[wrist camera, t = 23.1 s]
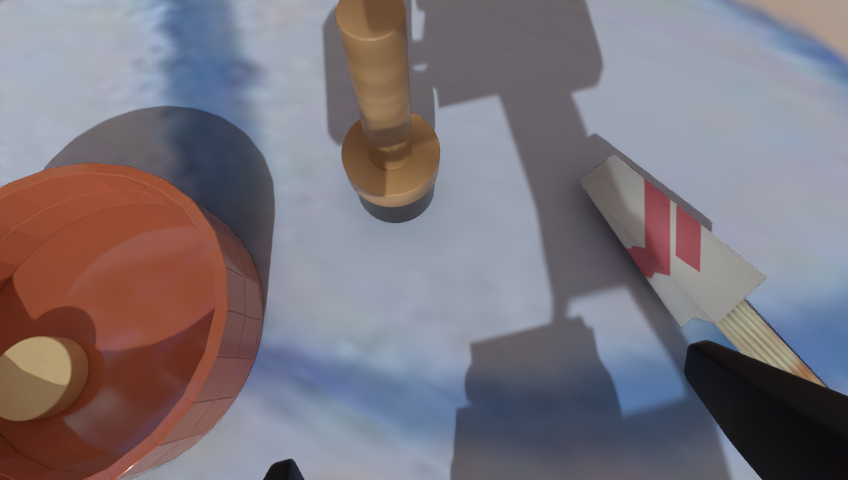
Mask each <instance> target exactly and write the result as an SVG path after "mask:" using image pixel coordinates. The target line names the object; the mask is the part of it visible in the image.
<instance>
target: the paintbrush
mask: <svg viewBox="0 0 848 480" xmlns="http://www.w3.org/2000/svg"><path fill="white" fill-rule="evenodd" d="M579 181H580V183H581V184H582V186H583V187H584V189H585V190H586V192H587V193H588V195H589V196H590V197H591V199H592V200H593V202H594V203H595V205H596V206H597V208H598V209H599V210H600V212H601V213H602V215H603V216H604V218H605V219H606V221H607V222H608V223H609V225H610V226H611V228H612V229H613V231H614V232H615V234H616V235H617V236H618V238H619V239H620V241H621V242H622V244H623V245H624V247H625V248H626V250H627V251H628V252H629V254H630V255H631V257H632V258H633V260H634V261H635V263H636V264H637V265H638V267H639V268H640V270H641V271H642V273H643V274H644V276H645V277H646V278H647V280H648V281H649V283H650V284H651V286H652V287H653V289H654V290H655V291H656V293H657V294H658V296H659V297H660V299H661V300H662V302H663V303H664V305H665V306H666V307H667V309H668V310H669V312H670V313H671V315H672V316H673V318H674V319H675V320H676V322H677V323H678V325H679V326H680V328H682V327H683V326H684V325H685V324H686V323H687V322H689V321H690V320H691V319H692V318H697V319H701V320H705V321H709V322H712V323H714V324H715V325H716V327H717V328H718V329H719V330H720V331H721V332H722V333H723V334H724V335H725V336H726V337H727V338H728V340H729V341H730V342H731V343H732V344H733V345H734V346H735V347H736V348H737V349H738V350H739V351H740V353H742V354H744V355H747V356H749V357H752V358H754V359H757V360H759V361H762V362H764V363H767V364H769V365H772V366H774V367H777V368H779V369H782V370H784V371H787V372H789V373H792V374H794V375H797V376H799V377H802V378H804V379H807V380H809V381H812V382H814V383H817V384H819V385H821V386H824V385H823V384H822V383H821V382H820V380H819V379H818V378H817V377H816V376H815V375H814V374H813V373H812V372H811V371H810V370H809V369H808V368H807V367H806V366H805V365H804V363H803V362H802V361H801V360H800V359H799V358H798V357H797V356H796V355H795V354H794V353H793V352H792V351H791V350H790V349H789V348H788V346H787V345H786V344H785V343H784V342H783V341H782V340H781V339H780V338H779V337H778V336H777V335H776V334H775V333H774V332H773V331H772V330H771V329H770V328H769V326H768V325H767V324H766V323H765V322H764V321H763V320H762V319H761V318H760V317H759V316H758V314H757V313H756V312H755V311H754V310H753V309H752V308H751V307H750V306H749V305H748V304H747V302H746V301H745V300H744V298H745V297H746V296H748V295H749V294H750V293H751V292H752V291H753V290H754V289H755V288H756V287H757V286H759V285H760V284H761V283H762V282H763V281H764V280H765V279H766V278H767V277H766V276H765V275H764V274H762V273H761V272H760V271H759V270H757V269H756V268H755V267H754V266H752V265H751V264H750V263H749V262H747V261H746V260H745V259H744V258H742V257H741V256H740V255H739V254H737V253H736V252H735V251H734V250H732V249H731V248H730V247H729V246H727V245H726V244H725V243H724V242H722V241H721V240H720V239H719V238H717V237H716V236H715V235H714V234H713V233H711V232H710V231H709V230H708V229H706V228H705V227H704V226H703V225H701V224H700V223H699V222H698V221H696V220H695V219H694V218H693V217H691V216H690V215H689V214H688V213H686V212H685V211H684V210H683V209H681V208H680V207H679V206H678V205H676V204H675V203H674V202H673V201H671V200H670V199H669V198H668V197H666V196H665V195H664V194H663V193H661V192H660V191H659V190H658V189H656V188H655V187H654V186H653V185H651V184H650V183H649V182H648V181H647V180H645V179H644V178H643V177H642V176H640V175H639V174H638V173H637V172H635V171H634V170H633V169H632V168H630V167H629V166H628V165H627V164H625V163H624V162H623V161H622V160H620V159H619V158H618V157H617V156H615V155H614V154H613V155H611V156H610V157H609V158H607V159H606V160H605V161H603V162H602V163H601V164H599V165H598V166H597V167H595V168H594V169H593V170H591V171H590V172H589V173H587V174H586V175H585V176H583V177H582V178H581V179H580V180H579ZM824 387H825V386H824Z"/></svg>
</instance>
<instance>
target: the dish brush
mask: <svg viewBox="0 0 848 480" xmlns="http://www.w3.org/2000/svg"><path fill="white" fill-rule="evenodd" d="M335 19H336V23H337V27H338V31H339V35H340V39H341V43H342V47H343V51H344V55H345V59H346V63H347V67H348V71H349V75H350V79H351V83H352V87H353V91H354V95H355V99H356V103H357V107H358V111H359V115H360V119H359V120H358V121H357V122H356V123H355V124H354V125H353V126H352V127H351V128H350V129H349V131H348V133H347V134H346V136H345V139H344V141H343V145H342V153H341V154H342V162H343V166H344V168H345V171H346V174H347V176H348V179H349V181H350V183H351V185H352V187H353V188H354V190H355V191H356V192H357V193H358V195H359V198H360V200H361V203H362V205H363V206H364V208H365V209H366V210H367V211H368V212H369V213H370V214H371V215H372V216H374V217H375V218H377V219H379V220H382V221H385V222H390V223H401V222H406V221H409V220H412V219H414V218H416V217H417V216H419V215H420V214H421V213H423V212H424V211H425V209H426V208H427V207H428V205H429V204H430V202H431V200H432V197H433V192H434V182H435V180H436V178H437V175H438V170H439V160H440V146H439V141H438V138H437V136H436V133H435V132H434V130H433V129H432V127H431V126H430V125H429V124H428V123H427V122H426V121H425V120H424V119H423V118H421V117H420V116H418V115H416V114H414V113H412V112H411V108H410V87H409V66H408V45H407V23H406V8H405V5H404V3H403V1H402V0H340V1H339V2H338V4H337V7H336V11H335Z"/></svg>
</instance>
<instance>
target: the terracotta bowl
mask: <svg viewBox="0 0 848 480" xmlns="http://www.w3.org/2000/svg"><path fill="white" fill-rule="evenodd" d="M262 325H263V297H262V289H261V284H260V280H259V276H258V273H257V269H256V267H255V265H254V262H253V260H252V258H251V255H250V254H249V252H248V251H247V249H246V247H245V246H244V244H243V242H242V241H241V240H240V239H239V238H238V236H237V235H236V234H235V233H234V232H233V231H232V230H231V228H230V227H229V226H228V225H226V224H225V223H224V222H222V221H221V220H220V219H218V218H217V217H216V216H214V215H213V214H212V213H210V212H209V211H208V210H206V209H205V208H203V207H202V206H201V205H199V204H198V203H197V202H195V201H194V200H193V199H191V198H190V197H189V196H187V195H186V194H184V193H183V192H182V191H180V190H179V189H178V188H176V187H175V186H174V185H172V184H171V183H170V182H168V181H167V180H165V179H163V178H161V177H158V176H155V175H153V174H150V173H147V172H144V171H142V170H139V169H136V168H133V167H130V166H123V165H111V164H99V163H83V164H76V165H69V166H62V167H55V168H49V169H46V170H43V171H40V172H38V173H35V174H32V175H29V176H27V177H24V178H21V179H19V180H16V181H13V182H10V183H8V184H7V185H4V186H3V187H1V188H0V357H1V356H2V355H3V354H4V353H5V352H6V351H7V350H8V349H9V348H10V347H12V346H13V345H15V344H16V343H18V342H20V341H22V340H25V339H27V338H31V337H36V336H49V337H61V338H67V339H70V340H73V341H74V342H76V343H77V344H79V345H80V346H81V347H82V348H83V350H84V351H85V353H86V355H87V358H88V363H89V373H88V378H87V381H86V384H85V386H84V389H83V390H82V392H81V394H80V395H79V397H78V398H77V399H76V400H75V401H74V402H73V403H72V404H71V405H70V406H69V407H68V408H66V409H65V410H64V411H62V412H60V413H59V414H57V415H55V416H52V417H49V418H44V419H38V420H30V421H21V422H16V421H10V420H7V419H4V418H2V417H0V480H131V479H133V478H135V477H137V476H140V475H142V474H144V473H146V472H148V471H150V470H153V469H155V468H158V467H160V466H161V465H163V464H165V463H167V462H169V461H171V460H172V459H174V458H176V457H177V456H179V455H180V454H182V453H183V452H184V451H186V450H187V449H189V448H190V447H192V446H193V445H194V444H195V443H197V442H198V441H199V440H200V439H201V438H202V437H203V436H204V435H205V434H207V433H208V432H209V431H210V430H211V429H212V428H213V427H214V426H215V424H216V423H217V422H218V421H219V420H220V419H221V418H222V416H223V415H224V414H225V413H226V412H227V410H228V409H229V407H230V406H231V405H232V403H233V402H234V400H235V399H236V397H237V396H238V394H239V392H240V391H241V389H242V387H243V385H244V383H245V381H246V380H247V378H248V375H249V373H250V370H251V368H252V365H253V363H254V360H255V358H256V354H257V350H258V347H259V343H260V339H261V332H262Z"/></svg>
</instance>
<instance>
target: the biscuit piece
mask: <svg viewBox="0 0 848 480" xmlns="http://www.w3.org/2000/svg"><path fill="white" fill-rule="evenodd" d="M88 373H89V363H88V358H87V355H86V353H85V351H84V350H83V348H82V347H81V346H80V345H79V344H77V343H76V342H74V341H73V340H70V339H67V338H61V337H49V336H36V337H31V338H27V339H25V340H22V341H20V342H18V343H16V344H15V345H13V346H12V347H10V348H9V349H8V350H7V351H6V352H5V353H4V354H3V355H2V356H1V357H0V417H2V418H4V419H7V420H10V421H16V422H21V421H30V420H38V419H44V418H49V417H52V416H55V415H57V414H59V413H60V412H62V411H64V410H65V409H66V408H68V407H69V406H70V405H71V404H72V403H73V402H74V401H75V400H76V399H77V398H78V397H79V395H80V394H81V392H82V390H83V389H84V386H85V384H86V381H87V378H88Z"/></svg>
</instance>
